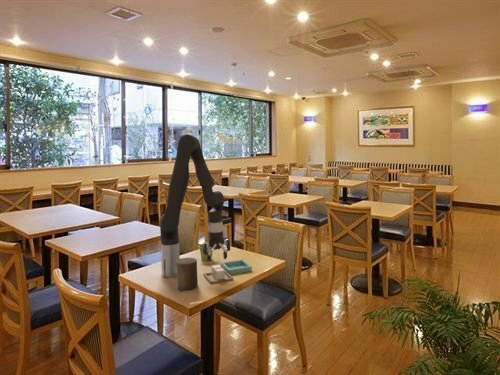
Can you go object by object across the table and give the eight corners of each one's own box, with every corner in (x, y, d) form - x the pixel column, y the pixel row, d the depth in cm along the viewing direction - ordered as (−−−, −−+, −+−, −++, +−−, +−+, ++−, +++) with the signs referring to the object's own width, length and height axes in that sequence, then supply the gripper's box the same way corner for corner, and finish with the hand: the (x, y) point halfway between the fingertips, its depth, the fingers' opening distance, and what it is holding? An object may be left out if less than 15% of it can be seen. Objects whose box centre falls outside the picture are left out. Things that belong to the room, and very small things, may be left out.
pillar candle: (199, 290, 167) (198, 259, 166) (178, 292, 165) (177, 261, 163) (196, 283, 177) (195, 253, 175) (176, 285, 174) (175, 255, 172)
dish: (229, 275, 186) (228, 270, 185) (221, 267, 198) (221, 262, 197) (251, 271, 191) (251, 266, 190) (242, 264, 203) (242, 259, 202)
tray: (210, 284, 174) (210, 282, 173) (203, 276, 185) (203, 273, 185) (233, 281, 178) (233, 278, 178) (225, 272, 190) (225, 269, 190)
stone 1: (213, 277, 182) (213, 268, 181) (211, 274, 185) (211, 265, 185) (221, 276, 183) (221, 267, 182) (219, 273, 187) (218, 264, 186)
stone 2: (217, 281, 177) (216, 271, 176) (214, 278, 180) (214, 269, 180) (224, 279, 178) (224, 270, 178) (222, 277, 182) (221, 267, 181)
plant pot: (206, 256, 219) (205, 242, 218) (217, 258, 213) (217, 244, 212) (195, 260, 211) (195, 246, 210) (207, 263, 206) (206, 248, 205)
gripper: (204, 233, 176) (206, 264, 178) (231, 229, 181) (232, 260, 184) (200, 230, 182) (202, 260, 185) (226, 226, 188) (227, 256, 190)
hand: (217, 260), depth 184 cm, fingers open, 8 cm apart
